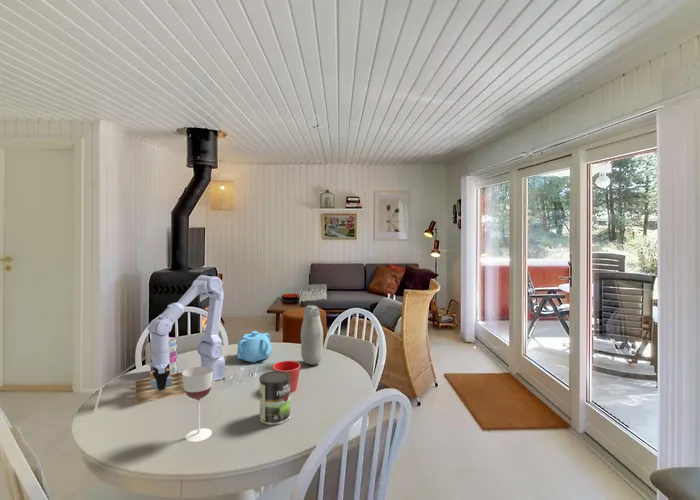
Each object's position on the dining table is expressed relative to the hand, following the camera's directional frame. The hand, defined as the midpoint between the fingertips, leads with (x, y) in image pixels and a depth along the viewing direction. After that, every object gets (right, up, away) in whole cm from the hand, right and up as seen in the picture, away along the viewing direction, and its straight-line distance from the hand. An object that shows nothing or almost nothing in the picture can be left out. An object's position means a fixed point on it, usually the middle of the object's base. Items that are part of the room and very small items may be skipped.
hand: (161, 385), depth 138 cm
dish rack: (-2, -4, +4) cm, 6 cm away
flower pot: (+46, -4, +7) cm, 47 cm away
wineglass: (+25, -6, -25) cm, 36 cm away
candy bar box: (-10, -3, +22) cm, 24 cm away
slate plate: (0, -3, 0) cm, 3 cm away
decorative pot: (+25, -3, +42) cm, 49 cm away
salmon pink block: (-4, -3, +8) cm, 9 cm away
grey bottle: (+54, -3, +36) cm, 64 cm away
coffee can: (+46, -6, -14) cm, 49 cm away
